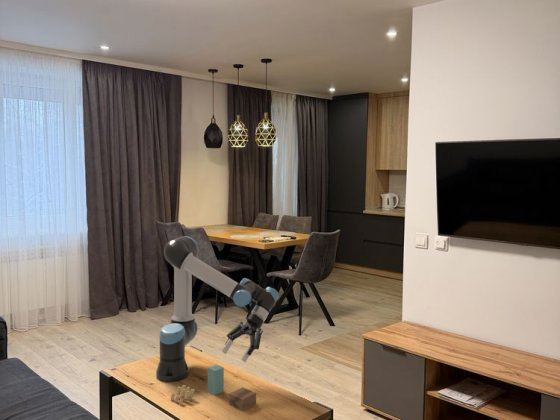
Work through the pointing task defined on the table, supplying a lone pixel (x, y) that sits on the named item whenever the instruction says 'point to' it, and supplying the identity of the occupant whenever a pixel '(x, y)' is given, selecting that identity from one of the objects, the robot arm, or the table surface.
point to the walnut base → (242, 398)
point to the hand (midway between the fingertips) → (233, 356)
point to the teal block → (215, 379)
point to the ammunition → (182, 392)
